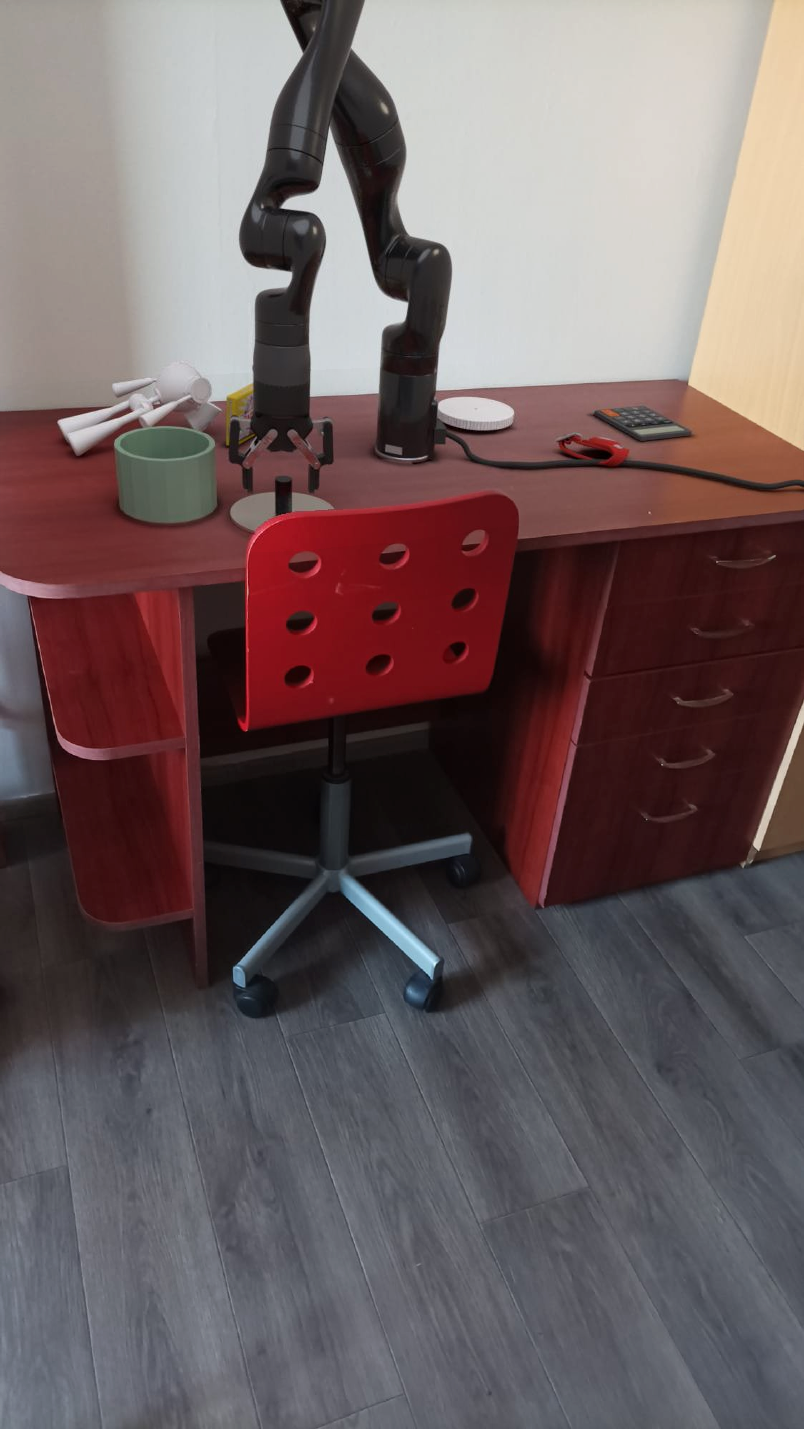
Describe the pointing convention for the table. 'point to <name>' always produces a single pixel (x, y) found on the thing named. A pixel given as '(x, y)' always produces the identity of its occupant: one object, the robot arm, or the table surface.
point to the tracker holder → (597, 443)
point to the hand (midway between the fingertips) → (280, 491)
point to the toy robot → (146, 406)
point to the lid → (273, 505)
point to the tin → (166, 474)
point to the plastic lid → (475, 413)
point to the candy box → (240, 410)
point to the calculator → (642, 423)
